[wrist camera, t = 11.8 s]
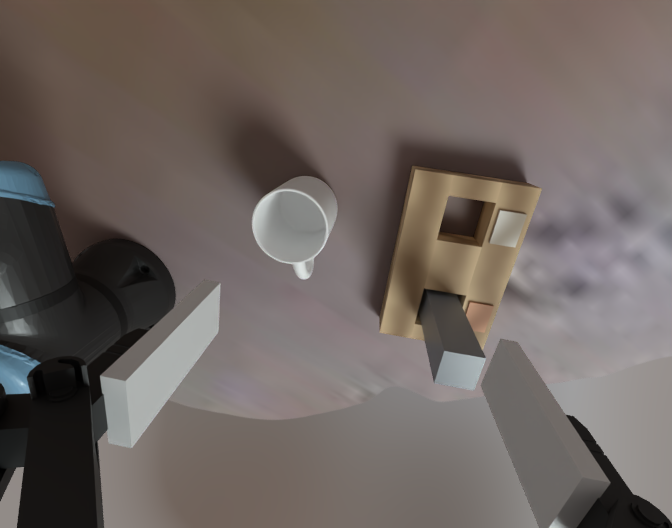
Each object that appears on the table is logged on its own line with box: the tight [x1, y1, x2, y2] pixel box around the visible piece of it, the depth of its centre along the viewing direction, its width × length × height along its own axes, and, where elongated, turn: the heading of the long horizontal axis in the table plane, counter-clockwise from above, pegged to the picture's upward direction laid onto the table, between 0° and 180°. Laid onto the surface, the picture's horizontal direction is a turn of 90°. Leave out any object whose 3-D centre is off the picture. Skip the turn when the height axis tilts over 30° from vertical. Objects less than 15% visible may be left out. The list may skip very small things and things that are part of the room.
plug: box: [418, 288, 486, 390], centre depth 41 cm, size 4×4×16 cm
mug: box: [252, 176, 338, 279], centre depth 42 cm, size 12×8×10 cm
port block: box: [380, 165, 542, 350], centre depth 44 cm, size 14×22×4 cm, turn 172°
